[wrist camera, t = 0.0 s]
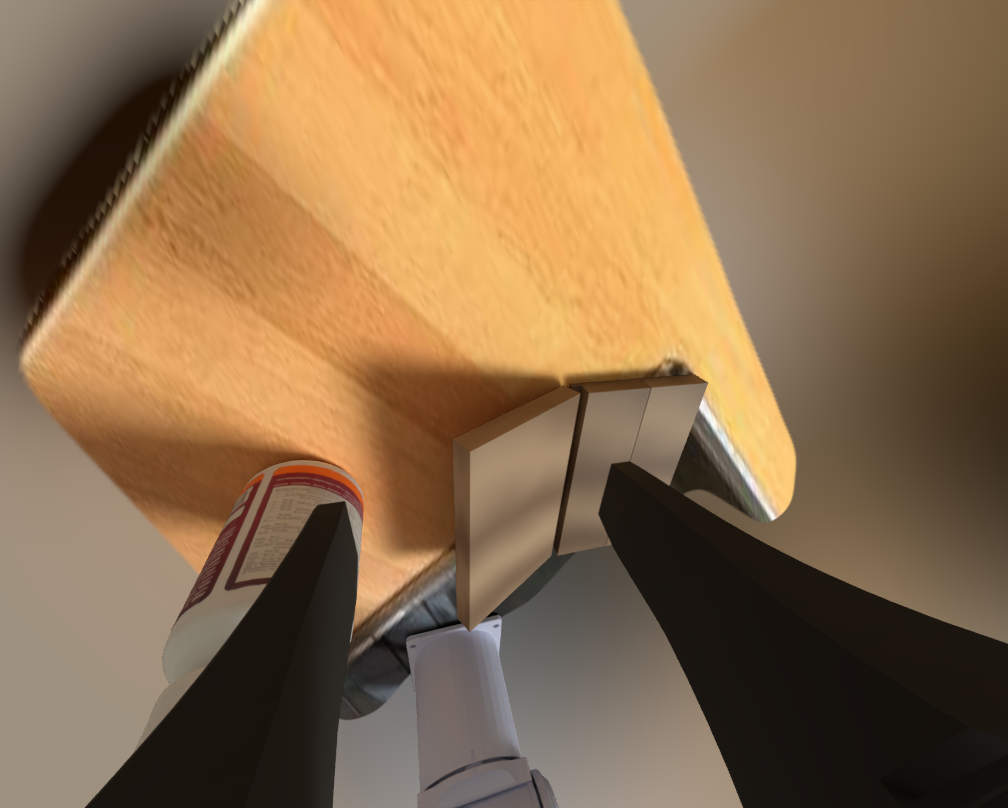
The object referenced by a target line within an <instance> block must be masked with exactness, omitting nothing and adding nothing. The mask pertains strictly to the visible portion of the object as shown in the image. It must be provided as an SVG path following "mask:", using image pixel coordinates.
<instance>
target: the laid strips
mask: <svg viewBox="0 0 1008 808" xmlns="http://www.w3.org/2000/svg"><path fill="white" fill-rule="evenodd" d="M707 385H708V382H706V381H704V380H703V379H701V378H700V377H698V376H696V375H695V374H694V375H681V376H669V377H656V378H643V379H631V380H618V381H606V382H593V383H581V384H571V385H570V389H572V390H574V391H576V392H579V393H580V398H579V404H578V409H577V415H576V420H575V426H574V432H573V437H572V443H571V448H570V454H569V459H568V465H567V470H566V476H565V482H564V487H563V493H562V498H561V504H560V509H559V515H558V520H557V526H556V531H555V537H554V543H553V546H554V548H555V551H556V553H557V555H562V554H567V553H572V552H577V551H582V550H587V549H592V548H596V547H602V546H605V545H611V542H610V540H609V538H608V535H607V533H606V531H605V529H604V526H603V524H602V522H601V519H600V517H599V515H598V512H599V508H600V505H601V501H602V497H603V493H604V489H605V486H606V482H607V478H608V474H609V470H610V467H611V464H613V463H620V462H627V461H630V462H632V463H634V464H636V465H637V466H639V467H641V468H642V469H644V470H645V471H647V472H649V473H650V474H652V475H653V476H655V477H656V478H658V479H660V480H661V481H663V482H664V483H666V484H667V485H670V482H671V480H672V477H673V474H674V472H675V469H676V466H677V464H678V461H679V459H680V456H681V453H682V451H683V448H684V445H685V443H686V440H687V437H688V435H689V432H690V430H691V427H692V424H693V422H694V419H695V416H696V414H697V411H698V408H699V406H700V403H701V401H702V398H703V395H704V393H705V390H706V387H707Z"/></svg>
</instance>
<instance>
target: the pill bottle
mask: <svg viewBox="0 0 1008 808" xmlns="http://www.w3.org/2000/svg"><path fill="white" fill-rule="evenodd" d="M341 501H345V502H346V506H347V510H348V515H349V519H350V523H351V527H352V532H353V536H354V540H355V544H356V549H357V553H358V575H359V561H360V550H361V536H362V524H363V511H364V499H363V494H362V491H361V488H360V487H359V485H358V483H357V482H356V481H355V479H354V478H353V477H352V476H351V475H349V474H348V473H347V472H345V471H344V470H342V469H340V468H338V467H336V466H334V465H331V464H328V463H324V462H319V461H311V460H294V461H288V462H283V463H279V464H276V465H273V466H270V467H268V468H266V469H264V470H262V471H261V472H259V473H257V474H256V475H255V476H254V477H252V478H251V479H250V481H249V482H248V483H247V484H246V485H245V487H244V488H243V490H242V492H241V494H240V496H239V497H238V499H237V501H236V503H235V505H234V507H233V509H232V511H231V513H230V515H229V517H228V519H227V521H226V523H225V525H224V527H223V529H222V531H221V533H220V535H219V537H218V539H217V541H216V543H215V545H214V547H213V549H212V551H211V553H210V555H209V557H208V559H207V561H206V563H205V565H204V567H203V569H202V571H201V573H200V575H199V577H198V579H197V581H196V583H195V585H194V587H193V589H192V590H191V592H190V595H189V597H188V599H187V601H186V603H185V605H184V607H183V609H182V611H181V612H180V614H179V616H178V618H177V620H176V622H175V624H174V626H173V627H172V630H171V633H170V636H169V638H168V640H167V642H166V645H165V648H164V652H163V658H162V659H163V670H164V674H165V676H166V678H167V680H168V682H169V683H170V685H169V686H168V687H167V688H166V689H165V690H164V691H163V693H162V694H161V695H160V696H159V698H158V700H157V702H156V703H155V706H154V708H153V710H152V712H151V715H150V718H149V721H148V723H147V725H146V727H145V729H144V732H143V734H142V736H141V738H140V740H139V742H138V744H137V746H136V748H135V751H136V750H137V748H138V747H139V746H140V745H141V744H142V743H143V742H144V740H145V739H146V738H147V737H148V736H149V735H150V734H151V732H152V731H153V730H154V729H155V728H156V727H157V725H158V724H159V723H160V722H161V721H162V720H163V719H164V717H165V716H166V715H167V714H168V713H169V712H170V710H171V709H172V708H173V707H174V706H175V704H176V703H177V702H178V701H179V699H180V698H181V697H182V696H183V695H184V693H185V692H186V691H187V690H188V688H189V687H190V686H191V685H192V684H193V682H194V681H195V680H196V679H197V677H198V676H199V675H200V674H201V672H202V671H203V670H204V669H205V667H206V666H207V665H208V664H209V662H210V661H211V660H212V658H213V657H214V656H215V655H216V653H217V652H218V651H219V649H220V648H221V647H222V646H223V644H224V643H225V642H226V640H227V639H228V637H229V636H230V635H231V633H232V632H233V631H234V629H235V628H236V627H237V625H238V624H239V622H240V621H241V620H242V618H243V617H244V616H245V614H246V613H247V612H248V610H249V609H250V607H251V606H252V605H253V603H254V602H255V601H256V599H257V598H258V596H259V595H260V593H261V592H262V590H263V589H264V587H265V586H266V584H267V583H268V581H269V580H270V578H271V577H272V575H273V574H274V572H275V571H276V569H277V568H278V566H279V565H280V564H281V562H282V561H283V559H284V557H285V556H286V554H287V553H288V551H289V549H290V548H291V546H292V545H293V543H294V541H295V540H296V538H297V537H298V535H299V533H300V532H301V530H302V528H303V527H304V525H305V523H306V522H307V520H308V518H309V516H310V515H311V513H312V511H313V509H314V508H315V507H316V506H317V505H320V504H327V503H334V502H341ZM357 585H358V578H357ZM354 614H355V613H354ZM353 626H354V619H353ZM353 626H352V631H353ZM351 637H352V633H351ZM350 642H351V640H350ZM135 751H134V752H135Z"/></svg>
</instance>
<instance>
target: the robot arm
mask: <svg viewBox="0 0 1008 808" xmlns="http://www.w3.org/2000/svg"><path fill="white" fill-rule="evenodd" d="M598 515H599V517H600V519H601V522H602V524H603V526H604V529H605V531H606V533H607V535H608V538H609V540H610V542H611V544H612V546H613V548H614V550H615V551H616V553H617V555H618V556H619V558H620V560H621V561H622V563H623V565H624V566H625V568H626V570H627V571H628V573H629V575H630V576H631V578H632V580H633V581H634V583H635V585H636V586H637V588H638V589H639V591H640V593H641V594H642V596H643V598H644V599H645V601H646V603H647V604H648V606H649V607H650V609H651V611H652V612H653V614H654V616H655V617H656V619H657V621H658V622H659V624H660V626H661V628H662V629H663V631H664V633H665V635H666V636H667V638H668V640H669V642H670V644H671V646H672V648H673V650H674V652H675V655H676V657H677V659H678V660H679V663H680V665H681V667H682V669H683V671H684V673H685V675H686V677H687V679H688V681H689V683H690V685H691V687H692V690H693V692H694V694H695V696H696V698H697V700H698V703H699V705H700V707H701V709H702V711H703V713H704V715H705V717H706V720H707V722H708V724H709V726H710V729H711V731H712V734H713V736H714V738H715V741H716V743H717V745H718V748H719V750H720V752H721V755H722V757H723V759H724V761H725V764H726V766H727V768H728V771H729V773H730V776H731V778H732V781H733V783H734V786H735V788H736V791H737V793H738V796H739V798H740V801H741V803H742V806H743V808H1008V644H1007V643H1004V642H1001V641H998V640H995V639H993V638H990V637H987V636H984V635H981V634H978V633H975V632H972V631H970V630H967V629H964V628H961V627H958V626H955V625H952V624H949V623H946V622H943V621H941V620H938V619H935V618H932V617H930V616H927V615H925V614H922V613H920V612H917V611H914V610H912V609H909V608H907V607H904V606H901V605H899V604H896V603H894V602H891V601H888V600H886V599H884V598H881V597H879V596H877V595H874V594H872V593H869V592H866V591H864V590H862V589H860V588H857V587H855V586H853V585H851V584H848V583H846V582H844V581H842V580H839V579H837V578H835V577H833V576H830V575H828V574H826V573H824V572H822V571H819V570H817V569H815V568H813V567H811V566H809V565H807V564H805V563H803V562H801V561H799V560H797V559H795V558H793V557H791V556H789V555H787V554H785V553H783V552H781V551H779V550H777V549H775V548H773V547H771V546H769V545H767V544H765V543H763V542H762V541H760V540H758V539H756V538H754V537H752V536H751V535H749V534H747V533H745V532H744V531H742V530H740V529H738V528H737V527H735V526H733V525H732V524H730V523H728V522H726V521H725V520H723V519H721V518H720V517H718V516H716V515H715V514H713V513H711V512H710V511H708V510H707V509H705V508H703V507H702V506H700V505H698V504H697V503H695V502H694V501H692V500H691V499H689V498H687V497H686V496H684V495H683V494H681V493H680V492H678V491H677V490H675V489H673V488H672V487H670V486H669V485H667V484H666V483H664V482H663V481H661V480H660V479H658V478H656V477H655V476H653V475H652V474H650V473H649V472H647V471H645V470H644V469H642V468H641V467H639V466H637V465H636V464H634V463H632V462H630V461H627V462H620V463H613V464H611V467H610V470H609V474H608V478H607V482H606V486H605V489H604V493H603V497H602V501H601V505H600V508H599V512H598ZM357 578H358V553H357V549H356V544H355V540H354V536H353V532H352V527H351V523H350V519H349V515H348V510H347V506H346V502H345V501H341V502H334V503H327V504H320V505H317V506H316V507H315V508H314V509H313V511H312V513H311V515H310V516H309V518H308V520H307V522H306V523H305V525H304V527H303V528H302V530H301V532H300V533H299V535H298V537H297V538H296V540H295V541H294V543H293V545H292V546H291V548H290V549H289V551H288V553H287V554H286V556H285V557H284V559H283V561H282V562H281V564H280V565H279V566H278V568H277V569H276V571H275V572H274V574H273V575H272V577H271V578H270V580H269V581H268V583H267V584H266V586H265V587H264V589H263V590H262V592H261V593H260V595H259V596H258V598H257V599H256V601H255V602H254V603H253V605H252V606H251V607H250V609H249V610H248V612H247V613H246V614H245V616H244V617H243V618H242V620H241V621H240V622H239V624H238V625H237V627H236V628H235V629H234V631H233V632H232V633H231V635H230V636H229V637H228V639H227V640H226V642H225V643H224V644H223V646H222V647H221V648H220V649H219V651H218V652H217V653H216V655H215V656H214V657H213V658H212V660H211V661H210V662H209V664H208V665H207V666H206V667H205V669H204V670H203V671H202V672H201V674H200V675H199V676H198V677H197V679H196V680H195V681H194V682H193V684H192V685H191V686H190V687H189V688H188V690H187V691H186V692H185V693H184V695H183V696H182V697H181V698H180V699H179V701H178V702H177V703H176V704H175V706H174V707H173V708H172V709H171V710H170V712H169V713H168V714H167V715H166V716H165V717H164V719H163V720H162V721H161V722H160V723H159V724H158V725H157V727H156V728H155V729H154V730H153V731H152V732H151V734H150V735H149V736H148V737H147V738H146V739H145V740H144V742H143V743H142V744H141V745H140V746H139V747H138V748H137V750H136V751H135V752H134V753H133V754H132V756H131V757H130V758H129V759H128V760H127V761H126V762H125V763H124V765H123V766H122V767H121V768H120V769H119V770H118V772H117V773H116V774H115V775H114V776H113V777H112V778H111V779H110V780H109V781H108V783H107V784H106V785H105V786H104V787H103V788H102V789H101V790H100V792H99V793H98V794H97V795H96V796H95V797H94V798H93V799H92V800H91V801H90V802H89V803H88V805H87V806H86V807H85V808H333V790H334V776H335V761H336V747H337V732H338V724H339V715H340V706H341V699H342V693H343V686H344V680H345V673H346V666H347V660H348V653H349V646H350V640H351V633H352V626H353V619H354V613H355V606H356V599H357ZM501 622H502V621H501V617H500V616H499V615H495V616H491V617H487V618H484V619H483V620H482V621H481V622H480V623H479V624H478V625H477V626H476V627H475V628H474V629H473V630H472V631H471V632H469V631H468V630H467V629H466V628H465V626H464V625H463V624H457V625H453V626H449V627H445V628H440V629H436V630H432V631H428V632H424V633H419V634H415V635H411V636H409V637H408V638H407V639H406V646H407V652H408V658H409V664H410V670H411V676H412V682H413V688H414V692H415V693H416V709H417V733H418V757H419V780H420V793H419V794H418V795H417V802H418V808H559V807H558V804H557V801H556V798H555V795H554V792H553V790H552V787H551V785H550V783H549V781H548V780H547V779H546V778H545V777H544V776H543V775H542V774H541V773H540V772H539V770H537V769H533V770H531V771H530V769H529V765H528V761H527V757H522V758H521V753H520V749H519V744H518V740H517V735H516V731H515V726H514V722H513V718H512V713H511V708H510V704H509V699H508V695H507V691H506V686H505V682H504V677H503V673H502V668H501V664H500V660H499V646H500V635H501Z"/></svg>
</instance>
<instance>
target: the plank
mask: <svg viewBox="0 0 1008 808" xmlns="http://www.w3.org/2000/svg"><path fill="white" fill-rule="evenodd" d="M579 398H580V393H579V392H576V391H574V390H572V389H570V388H567V387H565V386H561V387H559V388H557V389H555V390H553V391H551V392H549V393H547V394H545V395H543V396H541V397H538V398H536V399H534V400H532V401H530V402H528V403H526V404H524V405H522V406H520V407H518V408H516V409H514V410H512V411H510V412H507V413H505V414H503V415H501V416H499V417H497V418H495V419H493V420H491V421H489V422H487V423H485V424H483V425H481V426H478V427H476V428H474V429H472V430H470V431H468V432H466V433H464V434H462V435H460V436H458V437H456V438H454V439H452V440H453V476H454V513H455V549H456V586H457V618H458V619H459V621H460V622H461V623H462V624H463V625H464V626H465V628H466V629H467V630H468V631H469V632H471V631H472V630H473V629H474V628H475V627H476V626H477V625H478V624H479V623H480V622H481V621H482V620H483V619H484V618H486V617H487V616H488V615H489V614H490V613H491V612H492V611H493V610H494V609H495V608H496V607H497V606H498V605H499V604H500V603H501V602H503V601H504V600H505V599H506V598H507V597H508V596H509V595H510V594H511V593H512V592H513V591H514V590H515V589H516V588H517V587H519V586H520V585H521V584H522V583H523V582H524V581H525V580H526V579H527V578H528V577H529V576H530V575H531V574H532V573H533V572H534V571H536V570H537V569H538V568H539V567H540V566H541V565H542V564H543V563H544V562H545V561H546V560H547V559H548V558H549V557H550V556H551V554H552V548H553V543H554V537H555V531H556V526H557V520H558V515H559V509H560V504H561V498H562V493H563V487H564V482H565V476H566V470H567V465H568V459H569V454H570V448H571V443H572V437H573V432H574V426H575V420H576V415H577V409H578V404H579Z"/></svg>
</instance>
